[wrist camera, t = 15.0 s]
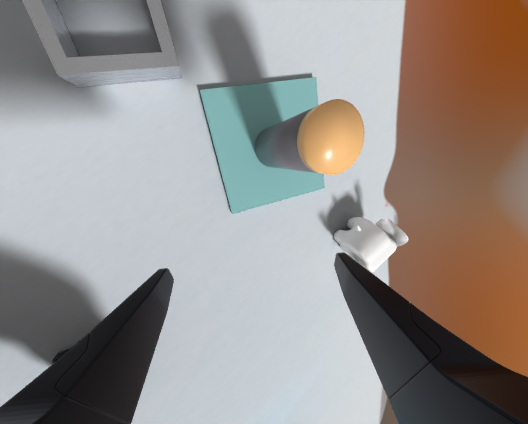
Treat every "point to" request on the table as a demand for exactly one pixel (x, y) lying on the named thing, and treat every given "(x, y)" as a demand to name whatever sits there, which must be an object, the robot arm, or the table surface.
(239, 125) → the teal mat
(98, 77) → the collar
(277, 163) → the grey orange domed cylinder
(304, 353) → the table surface
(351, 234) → the elephant figurine
